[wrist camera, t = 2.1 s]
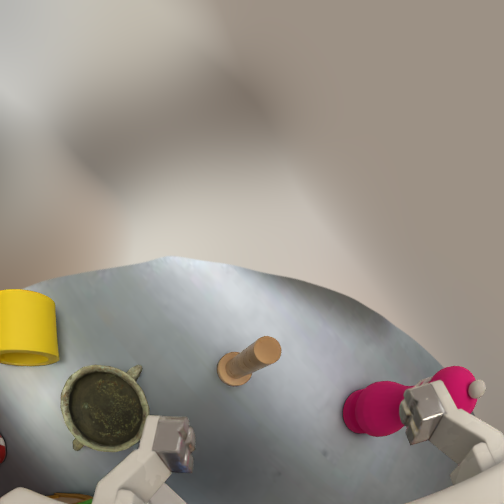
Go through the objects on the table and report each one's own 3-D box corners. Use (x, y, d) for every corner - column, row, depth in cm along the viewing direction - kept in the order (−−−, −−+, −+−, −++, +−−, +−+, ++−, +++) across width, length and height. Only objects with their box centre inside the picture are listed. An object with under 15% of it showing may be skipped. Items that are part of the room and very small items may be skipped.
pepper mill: (389, 409, 38) (508, 382, 21) (360, 447, 34) (485, 441, 17) (361, 375, 39) (478, 333, 23) (329, 412, 36) (452, 392, 19)
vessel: (115, 471, 25) (107, 483, 20) (52, 420, 26) (33, 420, 21) (174, 393, 32) (177, 390, 27) (112, 345, 32) (104, 331, 27)
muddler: (239, 392, 34) (276, 382, 24) (210, 373, 34) (235, 355, 24) (256, 365, 36) (298, 343, 26) (228, 346, 37) (259, 318, 26)
